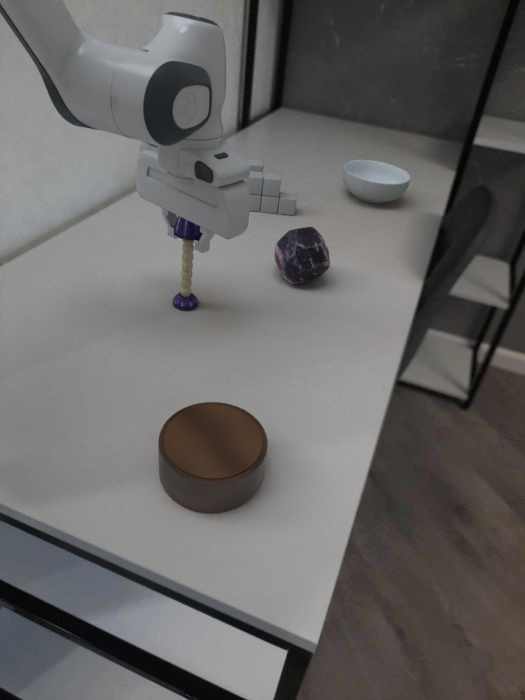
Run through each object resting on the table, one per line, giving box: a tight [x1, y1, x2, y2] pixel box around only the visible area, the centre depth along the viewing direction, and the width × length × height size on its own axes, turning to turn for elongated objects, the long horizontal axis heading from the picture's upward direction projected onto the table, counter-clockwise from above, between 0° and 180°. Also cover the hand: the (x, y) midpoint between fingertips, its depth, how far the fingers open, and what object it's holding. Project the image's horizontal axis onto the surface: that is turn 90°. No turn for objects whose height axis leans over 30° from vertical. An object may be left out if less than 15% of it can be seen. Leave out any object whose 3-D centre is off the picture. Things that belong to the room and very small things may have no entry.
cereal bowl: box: [342, 159, 411, 204], centre depth 132 cm, size 17×17×7 cm
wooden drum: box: [157, 401, 269, 514], centre depth 59 cm, size 12×12×5 cm
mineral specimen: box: [273, 226, 331, 285], centre depth 95 cm, size 10×10×10 cm
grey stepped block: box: [244, 158, 298, 216], centre depth 122 cm, size 12×12×8 cm
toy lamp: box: [172, 215, 203, 311], centre depth 82 cm, size 5×5×17 cm
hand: (188, 243), depth 80 cm, fingers closed on toy lamp, 4 cm apart
